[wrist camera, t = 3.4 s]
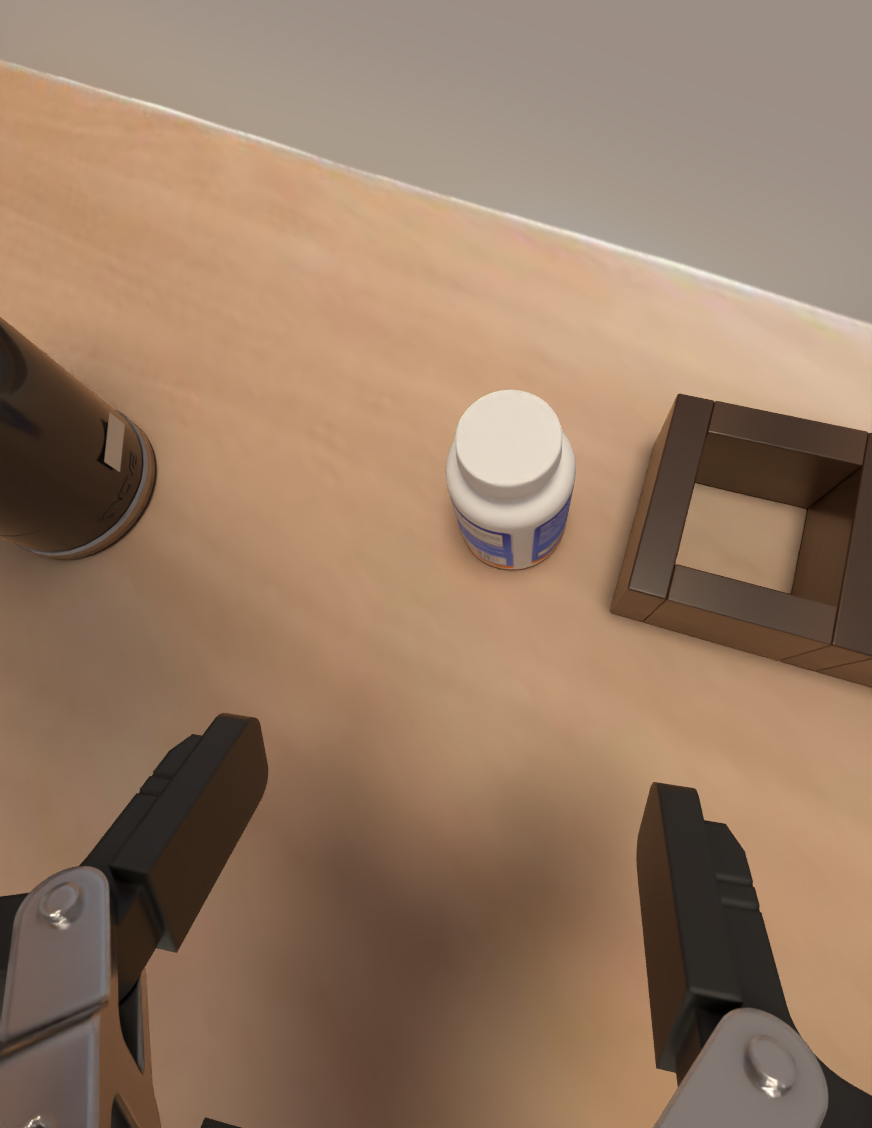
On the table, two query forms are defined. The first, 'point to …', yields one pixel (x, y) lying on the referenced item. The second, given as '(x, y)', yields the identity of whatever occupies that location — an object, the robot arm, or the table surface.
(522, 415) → the pill bottle
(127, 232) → the table surface
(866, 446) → the rack
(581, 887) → the table surface
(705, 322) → the table surface
